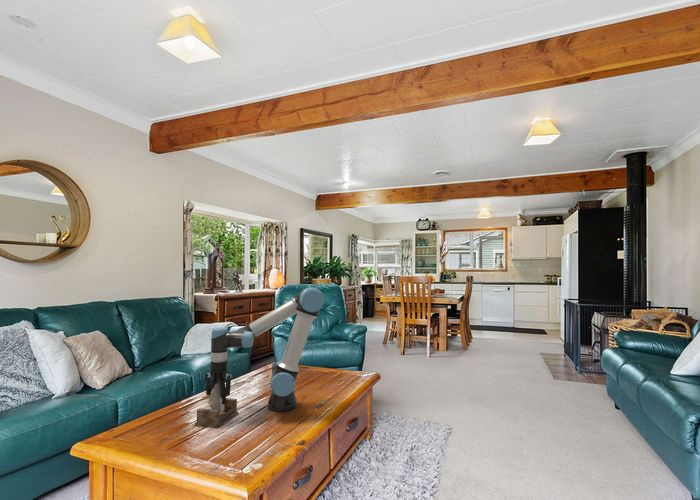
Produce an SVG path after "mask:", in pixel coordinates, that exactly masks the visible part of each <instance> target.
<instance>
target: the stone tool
mask: <svg viewBox="0 0 700 500" xmlns="http://www.w3.org/2000/svg"><path fill="white" fill-rule="evenodd" d="M221 397H222V396H221V389H220V383H219V381H217V383H216V384H215V386H214V388H213V390H212V391H211V396H209V398H208V404H209V407H210V409H211V408H212V409H213V410H219V413H220V398H221Z"/></svg>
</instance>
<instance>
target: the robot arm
mask: <svg viewBox="0 0 700 500" xmlns="http://www.w3.org/2000/svg"><path fill="white" fill-rule="evenodd" d="M324 297H325V296H324V293H323V292H322V291H321V290H320V289H319V288H317V287H313V286H307V287H306V288H305V287H304V289H302V290H301V291H300V292H299V293H297V294H295V295H293V296H292V297H291V300H289V301H287V302H285V303H284V304H282V305H280V306H279V307H276V308H275V309H273V310H272V311H270V312H268V313H266V314H264V315H262V316H261V317H259V318H257V319H256V320H254V321H251V322H250V323H249V324H247V325H244V327H241V328H239V329H238V330H237V331H229V328H227V327H215V328H213V329H211V336H210V337H211V338H210V341H211V343H210V346H211V347H210V372H207V373H205V374H204V378H205V395H206V396H209V397H210V396H211V391H212V390H213V388H214V386H215V384H216V383H217V382H218V381H219V383H220V389H221V396H222V397H221V398H220V412H222V411H224V404H225V403H226V398H228V397H229V395H231V388H232V387H231V386H232V385H231V384H232V383H231V382H232V378H233V374H231V373H228V371H227V370H228V349H233V348H234V349H235V348H245V349H246V348H252V347H253V345H254V338H256V337H258V336H260V335H262V333H265V332H266V331H268V330H270V329H272V328H274V327H276V326H277V325H279V324H280V323H282V322H284V321H286V320H288V319H289V318H291V317H293V316H295V315H296V317H295V319H294V322H293V325H292V328H291V331H290V333H289V337H288V339H287V343H286V345H285V348H284V351H283V353H282V357H281V360H280V361H274V362H272V365H271V378H270V382H269V383H270V385H269V386H270V389H271V393H270V395H269V397H268V401H267V409H268V410H270V411H273V412H288V411H292V410H294V409H296V408H297V407H298V399H297V397H296V394H295V388H296V381H297V378H298V375H299V373H300V369H299V366H298V365H299V362H300V360H301V357H302V354H303V351H304V348H305V345H306V343H307V339H308V337H309V333H310V331H311V327H312V325H313V322H314V320H315V319H317V318H318V317H319V314H320V311H321V309H322V308H323V306H324V302H325V298H324ZM210 409H212V408H211V407H210Z"/></svg>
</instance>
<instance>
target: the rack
mask: <svg viewBox="0 0 700 500" xmlns="http://www.w3.org/2000/svg"><path fill="white" fill-rule="evenodd" d="M237 405H238V398H228V397H226V403H225V404H224V411H222V412H220V413H219V410H213V409H211V408H203V407H202V408H201V407H200V408H196V422H194V426H195V427H204V428H213V429H219V428H221V427H222V426H224V425H225V424H226V423H228V422H229V421H231V420H233V418H235V417H237V416H238V415H239V411H237V409H238V406H237Z"/></svg>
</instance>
